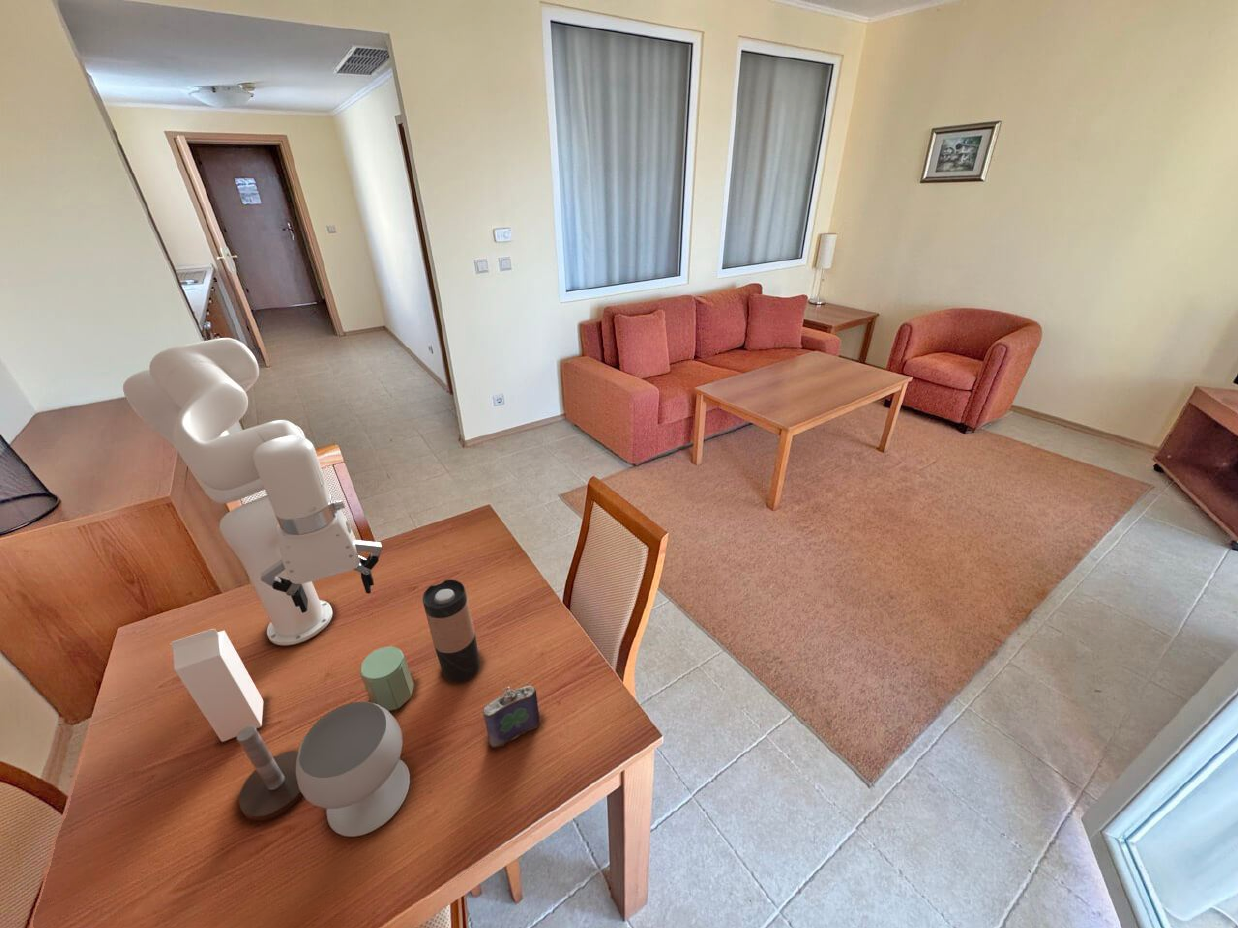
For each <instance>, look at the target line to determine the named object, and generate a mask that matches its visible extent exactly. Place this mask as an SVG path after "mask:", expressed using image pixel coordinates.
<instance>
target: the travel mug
mask: <svg viewBox="0 0 1238 928" xmlns="http://www.w3.org/2000/svg"><path fill="white" fill-rule="evenodd" d="M422 604H423V607H424V611H425V615H426V619H427V623H428V628H429V631H430V635H431V638H432V642H433V643H432V644H433V646H434V649H435V652H436V655H437V658H438V662H439V665H440V667H441V671H442V674H443V676H444V678H445V679H446V680H447V681H448V682H451V683H463V682H467V681H468V680H470V679H471V678H473V677H474V676H475V675H476V674H477V672H478V671H479V669H480V655H479V650H478V644H477V643H478V642H477V637H476V632H475V627H474V622H473V619H472V614H471V609H470V605H469V601H468V596H467V592H466V588H465V586H464V584H463V583H462V582H461V581H459V580H456V579H444V580H443V581H442V582H441V583H438V584H432V585H430V586H429V587H427V588H426V590H425V591H424V592H423V594H422Z"/></svg>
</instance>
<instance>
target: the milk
mask: <svg viewBox="0 0 1238 928" xmlns="http://www.w3.org/2000/svg"><path fill="white" fill-rule="evenodd" d="M169 645H170V647H171V649H172V655H173V670H174V671H175V673H176V675H177V676H178V678H179V679H180V682H182V684H183V686H184V687H185V689H186V690H187V691H188V693H189V694H190V696H191V698H192V699H193V701H194V703H195V704H196V705H197V707H198V708H199V710H200V712H201V713H202V714H203V716H204V718H205V719H206V720H207V722H208V723H209V725H210V727H211V728H212V730H213V731H214V733H215V734H216V736H217V737H218V738H219V740H220V741H221V743H223V742H226V741H229V740H232V739H234V738H237V735H238V733H239V732H240V731H241V730H242V729H244V728H245V727H248V726H254V727H255V728H256V729H260V728H261V727H262V725H263V714H264V713H263V712H264V700H263V699H264V698H263V697H262V695H261V694H260V692H259V690H258V688H257V687H256V685H255V683H254V681H253V680H252V677H251V675H250V673H249V672H248V670H247V668H246V667H245V665H244V663H243V661H242V659H241V658H240V656H239V654H238V652H237V650H236V649H235V647H234V645H233V643H232V641H231V640H230V637H229V636H228V634H227V632H226V630H221V631H217V630H216V628H211V629H208V630H204V631H202V632H199V633H195V634H192V635H189V636H186V637H183V638H180V639H175V640H173V641H171V642H169Z"/></svg>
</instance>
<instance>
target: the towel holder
mask: <svg viewBox="0 0 1238 928" xmlns="http://www.w3.org/2000/svg"><path fill="white" fill-rule="evenodd" d="M257 729H258V728H257ZM257 729H256V728H255V727H254V726H248V727H245V728H244V729H242V730H241V731H240V732H239V733H238V735H237V737H236V741H237V742H238V744H239V745H240V747H241V748H242V750H243V752H244V753H245V755H246V756H247V758H248V760H249V761H250V763H251V764H252V767H254V771H253V772H252V773H251V774H250V775H249V776H248V777H247V779H246V780H245V782H244V783H243V785H242V787H241V790H240V792H239V795H238V806H239V808H240V811H241V812H242V813H243V814H244V816H245V817H247V818H248V819H250V820H253V821H264V820H265V821H266V820H269V819H272V818H275V817H277V816H279V815H281V814H283V813H285V812H286V811H287V810H290V809H291V808H292V807H293V806H294V805H295V804H297V803H298V801H299V800H300V799H301V798H302V797H304V796H303V794H302V793H301V791H300V790H299V786H298V782H297V777H296V760H297V755H298V752H299V751H296V750H295V751H294V750H291V751H286V752H282V753H280V754H277V755H274V756H273V755H272V753H271V751H270V750H269V748H268V746H267V744H266V743H265V741H264V739H263V737H262V736H261V735H260V733H259V731H258V730H257Z"/></svg>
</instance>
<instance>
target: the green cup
mask: <svg viewBox="0 0 1238 928" xmlns="http://www.w3.org/2000/svg"><path fill="white" fill-rule="evenodd" d="M408 665H409V664H408V661H407V659H406V655H405V654H404V653H403V651H402V650H401V649H400V648H398V647H396V646H391V645H389V646H383V647H380V648H377V649H375V650H373V651H372V652H370V653H369V654H368V655H367V656H366V657H365V658H364V659H363V661H362V663H361V665H360V676H361V679H362V682H363V684H364V687H365V690H366V692H367V695H368V697H369V700H370V703H375V704H377V705H379V706H381V707H383V708H385V709H386V710H387V711H388V712H390V711H393V710H398V709H400V708H401V707H402V706H403V705H405V704H406V702H408V701H409V700H410V699H411V698H412V696H413V690H414V686H415V684H414V681H413V678H412V674H411V671H410V668H409V666H408Z"/></svg>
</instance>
